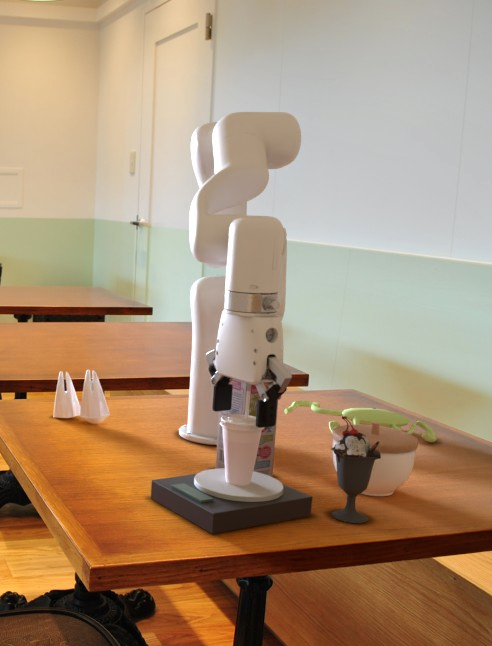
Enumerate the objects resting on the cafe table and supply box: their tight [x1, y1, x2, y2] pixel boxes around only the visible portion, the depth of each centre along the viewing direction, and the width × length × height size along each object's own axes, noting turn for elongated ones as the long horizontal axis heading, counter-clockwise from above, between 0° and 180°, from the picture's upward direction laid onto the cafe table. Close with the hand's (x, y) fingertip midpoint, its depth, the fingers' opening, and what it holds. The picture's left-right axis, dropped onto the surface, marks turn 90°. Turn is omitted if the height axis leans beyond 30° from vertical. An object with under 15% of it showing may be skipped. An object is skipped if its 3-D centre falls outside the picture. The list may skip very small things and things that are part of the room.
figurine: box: [283, 400, 437, 443], centre depth 167 cm, size 18×27×6 cm
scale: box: [150, 468, 313, 535], centre depth 125 cm, size 18×15×4 cm
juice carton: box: [215, 379, 279, 477], centre depth 139 cm, size 7×7×22 cm
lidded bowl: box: [331, 422, 419, 497], centre depth 134 cm, size 13×13×11 cm
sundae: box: [330, 416, 381, 524], centre depth 121 cm, size 7×7×15 cm
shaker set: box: [52, 369, 111, 425], centre depth 172 cm, size 12×4×11 cm, turn 53°
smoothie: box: [220, 391, 264, 486], centre depth 124 cm, size 6×6×14 cm
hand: (242, 418), depth 123 cm, fingers open, 9 cm apart
